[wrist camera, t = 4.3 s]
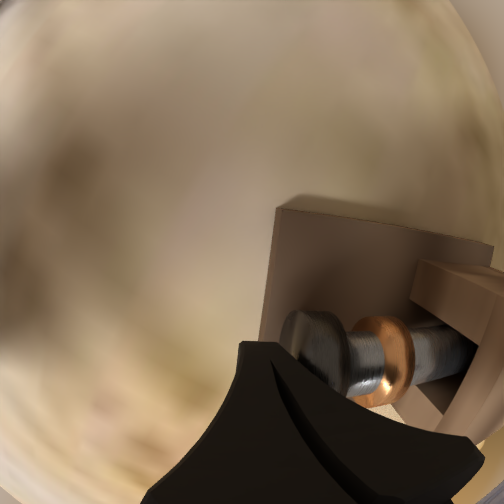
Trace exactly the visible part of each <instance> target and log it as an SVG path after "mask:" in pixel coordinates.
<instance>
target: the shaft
mask: <svg viewBox="0 0 504 504" xmlns="http://www.w3.org/2000/svg"><path fill="white" fill-rule="evenodd" d="M279 344H280V345H281V346H282V347H283V348H284V349H285V350H286V351H287V352H289V353H290V354H291V355H292V356H293V357H294V358H295V359H296V360H297V361H298V362H300V363H301V364H302V365H303V366H304V367H305V368H307V369H308V370H309V371H310V372H311V373H313V374H314V375H315V376H316V377H318V378H319V379H320V380H321V381H323V382H324V383H326V384H327V385H328V386H330V387H331V388H333V389H334V390H335V391H337V392H338V393H340V394H341V395H343V396H345V397H346V398H347V397H352V398H353V399H354V400H355V402H356V403H357V404H359V405H360V406H362V407H364V408H372V407H377V406H382V405H387V404H391V403H394V402H396V401H398V400H399V399H401V398H402V397H403V396H404V395H405V393H406V392H407V390H408V388H409V387H410V386H413V385H417V384H421V383H425V382H429V381H433V380H436V379H440V378H443V377H447V376H450V375H453V374H457V373H460V372H463V371H466V370H469V368H470V365H471V363H472V361H473V359H474V357H475V354H476V352H477V350H478V347H479V345H477V344H476V343H475V342H473V341H472V340H470V339H469V338H467V337H466V336H464V335H463V334H462V333H460V332H459V331H457V330H456V329H454V328H453V327H451V326H450V325H448V324H447V325H438V326H429V327H418V328H407V327H406V326H405V324H404V323H403V322H402V321H401V320H399V319H398V318H396V317H393V316H369V317H364V318H362V319H360V320H359V321H358V322H357V323H356V324H355V325H354V327H353V329H352V330H351V331H348V332H345V330H344V327H343V325H342V323H341V321H340V320H339V319H338V317H337V316H336V315H335V314H334V313H332V312H330V311H304V310H293V311H291V312H290V313H289V314H288V315H287V317H286V319H285V321H284V324H283V327H282V330H281V334H280V339H279Z"/></svg>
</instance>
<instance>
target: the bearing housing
mask: <svg viewBox="0 0 504 504" xmlns="http://www.w3.org/2000/svg"><path fill="white" fill-rule="evenodd" d="M493 249H494V246H491V245H488V244H484V243H480V242H476V241H471V240H467V239H462V238H458V237H453V236H448V235H443V234H438V233H433V232H428V231H423V230H418V229H412V228H407V227H401V226H396V225H390V224H384V223H378V222H372V221H366V220H360V219H353V218H347V217H340V216H333V215H326V214H319V213H312V212H304V211H297V210H289V209H281V208H276V213H275V221H274V229H273V237H272V245H271V252H270V260H269V267H268V275H267V282H266V289H265V296H264V304H263V311H262V318H261V325H260V331H259V338H258V341H261V342H277V343H279V339H280V334H281V330H282V327H283V324H284V321H285V319H286V317H287V315H288V314H289V313H290V312H291V311H293V310H304V311H330V312H332V313H334V314H335V315H336V316H337V317H338V319H339V320H340V321H341V323H342V325H343V327H344V330H345V332H348V331H351V330H352V329H353V327H354V325H355V324H356V323H357V322H358V321H359V320H360V319H362V318H364V317H369V316H393V317H396V318H398V319H399V320H401V321H402V322H403V323H404V324H405V326H406V327H407V328H418V327H429V326H438V325H447V324H448V325H450V326H451V327H453V328H454V329H456V330H457V331H459V332H460V333H462V334H463V335H464V336H466V337H467V338H469V339H470V340H472V341H473V342H475V343H476V344H477V345H479V347H478V350H477V352H476V354H475V357H474V359H473V361H472V363H471V365H470V368H469V370H466V371H463V372H460V373H457V374H453V375H450V376H447V377H443V378H440V379H436V380H433V381H429V382H425V383H421V384H417V385H413V386H410V387H409V388H408V390H407V392H406V393H405V395H404V396H403V397H402V398H401V399H399V400H398V401H396V402H394V403H391V405H392V406H393V407H394V409H395V410H396V411H397V413H398V414H399V415H400V417H401V418H402V419H403V421H404V422H405V423H406V425H409V426H412V427H416V428H420V429H424V430H427V431H432V432H437V433H444V434H451V435H458V436H467V437H468V438H469V439H470V440H471V441H472V442H473V443H474V445H477V444H479V443H480V442H482V441H483V440H485V439H486V438H487V437H489V436H490V435H492V434H493V433H495V432H496V431H497V430H499V429H500V428H501V427H503V426H504V272H501V271H499V270H496V269H494V268H491V267H490V264H491V259H492V254H493ZM347 398H348V399H350V400H352V401H353V402H355V400H354V399H353V398H352V397H347ZM355 403H356V402H355Z"/></svg>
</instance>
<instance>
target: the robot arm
mask: <svg viewBox="0 0 504 504" xmlns="http://www.w3.org/2000/svg"><path fill="white" fill-rule="evenodd" d="M484 460H485V457H484V455H483V454H482V453H481V452H480V450H479V449H478V448H477V447H476V446H475V445H474V443H473V442H472V441H471V440H470V439H469V438H468V437H467V436H458V435H451V434H444V433H437V432H432V431H427V430H424V429H420V428H416V427H412V426H409V425H406V424H403V423H400V422H397V421H394V420H391V419H389V418H386V417H384V416H382V415H379V414H377V413H375V412H372V411H370V410H368V409H366V408H364V407H362V406H360V405H359V404H357V403H355V402H353V401H352V400H350V399H348V398H346V397H345V396H343V395H341V394H340V393H338V392H337V391H335V390H334V389H333V388H331V387H330V386H328V385H327V384H326V383H324V382H323V381H321V380H320V379H319V378H318V377H316V376H315V375H314V374H313V373H311V372H310V371H309V370H308V369H307V368H305V367H304V366H303V365H302V364H301V363H300V362H298V361H297V360H296V359H295V358H294V357H293V356H292V355H291V354H290V353H289V352H287V351H286V350H285V349H284V348H283V347H282V346H281V345H280V344H279V343H277V342H261V341H242V342H241V343H239V349H238V358H237V367H236V374H235V377H234V379H233V382H232V384H231V387H230V389H229V391H228V394H227V396H226V398H225V400H224V402H223V404H222V405H221V407H220V409H219V411H218V412H217V414H216V416H215V417H214V419H213V420H212V422H211V423H210V425H209V426H208V428H207V429H206V431H205V432H204V433H203V435H202V436H201V437H200V439H199V440H198V441H197V442H196V443H195V445H194V446H193V447H192V448H191V449H190V450H189V451H188V453H187V454H186V455H185V456H184V457H183V458H182V459H181V460H180V462H179V463H178V464H177V465H176V466H175V467H173V468H172V469H171V470H170V471H169V472H168V473H167V474H166V475H165V476H163V477H162V478H161V479H160V480H159V481H158V482H157V483H155V484H154V485H153V486H152V487H151V488H150V489H148V491H147V492H146V494H145V496H144V498H143V499H142V501H141V503H140V504H454V503H453V502H452V500H451V498H452V497H453V496H454V495H456V494H457V493H458V492H459V491H460V490H461V489H462V488H463V487H464V486H465V485H466V484H467V483H468V482H469V481H470V480H471V479H472V477H473V476H474V475H475V474H476V473H477V472H478V471H479V470H480V468H481V467H482V465H483V463H484ZM476 504H504V480H503V481H502V482H501V483H500V484H499V485H498V486H497V487H496V488H494V489H493V490H492V491H491V492H490V493H489V494H487V495H486V496H485V497H484V498H482V499H481V500H480V501H479V502H478V503H476Z"/></svg>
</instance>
